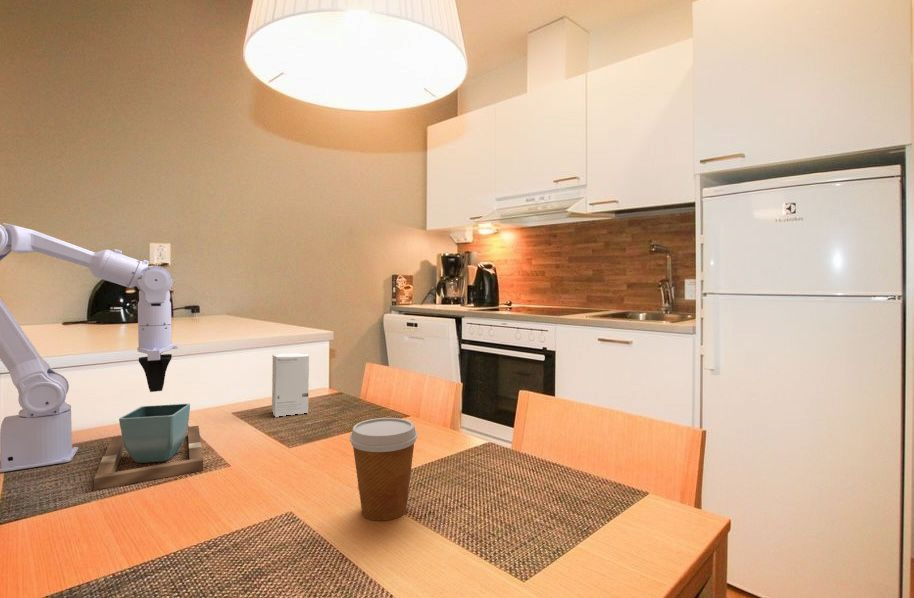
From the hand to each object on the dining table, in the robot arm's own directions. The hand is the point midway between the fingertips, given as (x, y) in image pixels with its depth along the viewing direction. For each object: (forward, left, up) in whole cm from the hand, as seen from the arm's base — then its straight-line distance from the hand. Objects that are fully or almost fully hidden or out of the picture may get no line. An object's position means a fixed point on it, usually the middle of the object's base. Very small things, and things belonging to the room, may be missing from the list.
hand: (156, 390), depth 95 cm
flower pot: (0, -11, -11) cm, 16 cm away
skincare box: (+28, +8, -11) cm, 31 cm away
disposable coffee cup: (+29, -52, -11) cm, 60 cm away
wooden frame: (0, -10, -10) cm, 14 cm away
